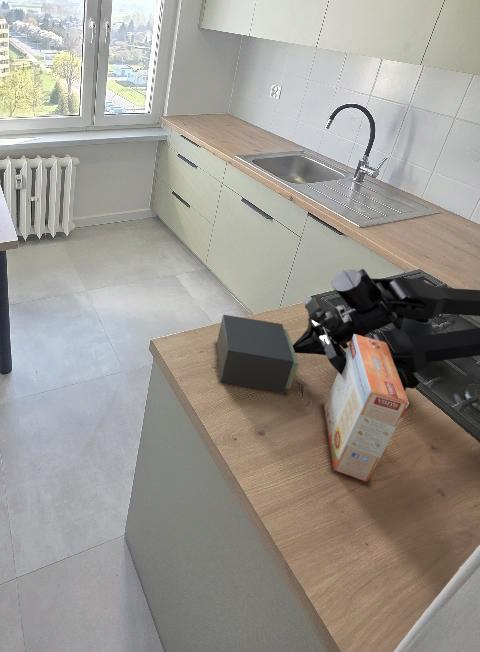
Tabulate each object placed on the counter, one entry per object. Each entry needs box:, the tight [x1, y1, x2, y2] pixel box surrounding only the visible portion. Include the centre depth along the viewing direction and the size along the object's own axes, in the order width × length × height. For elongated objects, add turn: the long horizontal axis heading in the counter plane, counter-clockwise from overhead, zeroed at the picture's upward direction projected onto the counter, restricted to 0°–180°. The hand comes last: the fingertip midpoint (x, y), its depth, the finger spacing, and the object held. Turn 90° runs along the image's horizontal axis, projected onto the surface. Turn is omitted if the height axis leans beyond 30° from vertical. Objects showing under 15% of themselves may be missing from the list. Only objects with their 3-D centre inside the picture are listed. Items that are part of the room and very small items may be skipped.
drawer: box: [284, 328, 299, 390], centre depth 94 cm, size 14×10×8 cm
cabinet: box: [216, 314, 294, 394], centre depth 95 cm, size 13×11×9 cm
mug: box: [389, 318, 434, 337], centre depth 102 cm, size 12×9×11 cm
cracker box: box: [323, 334, 410, 483], centre depth 77 cm, size 14×6×21 cm, turn 160°
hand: (292, 350), depth 92 cm, fingers closed, pressing on drawer
